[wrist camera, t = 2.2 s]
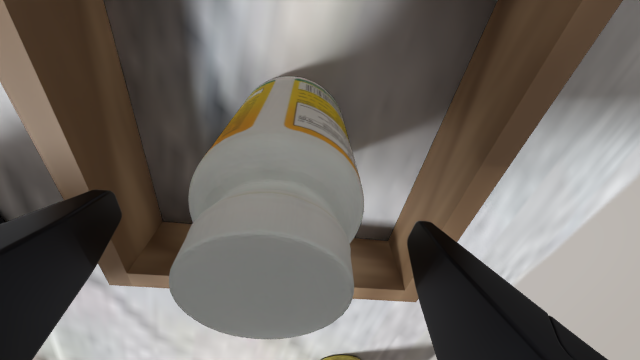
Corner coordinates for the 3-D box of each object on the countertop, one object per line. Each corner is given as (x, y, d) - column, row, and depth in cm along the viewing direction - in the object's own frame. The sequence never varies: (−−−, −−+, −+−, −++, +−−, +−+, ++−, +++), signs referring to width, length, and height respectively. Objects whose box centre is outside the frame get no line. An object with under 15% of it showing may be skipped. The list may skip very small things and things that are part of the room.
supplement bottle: (343, 72, 12) (413, 197, 4) (340, 167, 15) (376, 346, 7) (230, 75, 12) (66, 211, 4) (250, 171, 15) (183, 356, 7)
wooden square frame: (147, 232, 17) (109, 284, 14) (0, -218, 7) (-268, -416, 4) (397, 252, 19) (416, 302, 16) (561, -70, 9) (701, -115, 6)
